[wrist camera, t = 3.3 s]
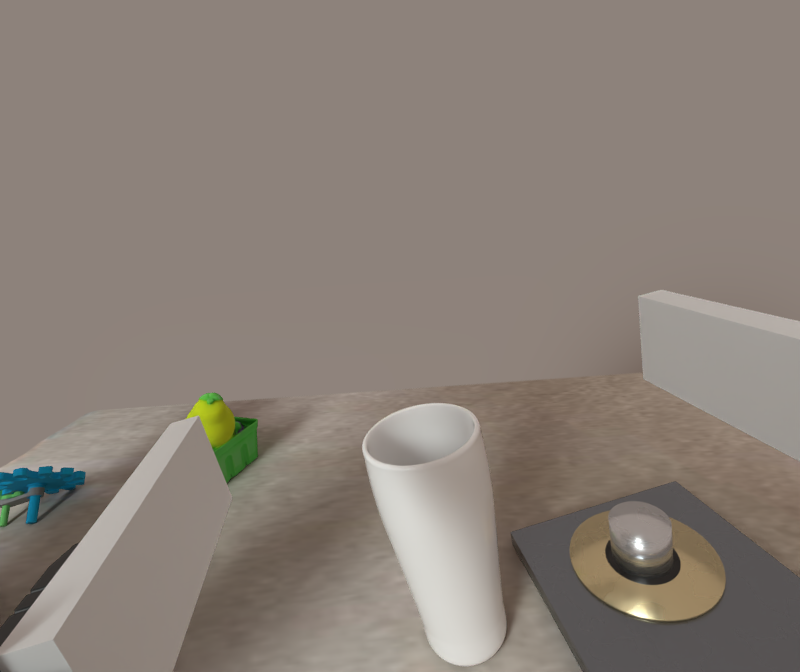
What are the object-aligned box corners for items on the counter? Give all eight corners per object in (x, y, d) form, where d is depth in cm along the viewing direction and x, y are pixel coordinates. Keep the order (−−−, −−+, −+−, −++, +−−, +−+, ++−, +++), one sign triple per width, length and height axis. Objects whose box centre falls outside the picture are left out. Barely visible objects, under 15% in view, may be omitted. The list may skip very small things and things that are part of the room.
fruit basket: (231, 447, 61) (203, 374, 57) (279, 452, 56) (251, 373, 53) (159, 503, 51) (119, 419, 48) (209, 514, 47) (170, 423, 44)
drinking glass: (416, 591, 32) (366, 412, 28) (508, 578, 31) (473, 393, 27) (415, 691, 26) (351, 479, 21) (531, 678, 25) (490, 456, 21)
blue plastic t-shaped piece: (105, 468, 59) (31, 456, 51) (101, 513, 57) (21, 509, 48) (39, 490, 61) (-44, 482, 52) (32, 535, 58) (-58, 534, 50)
